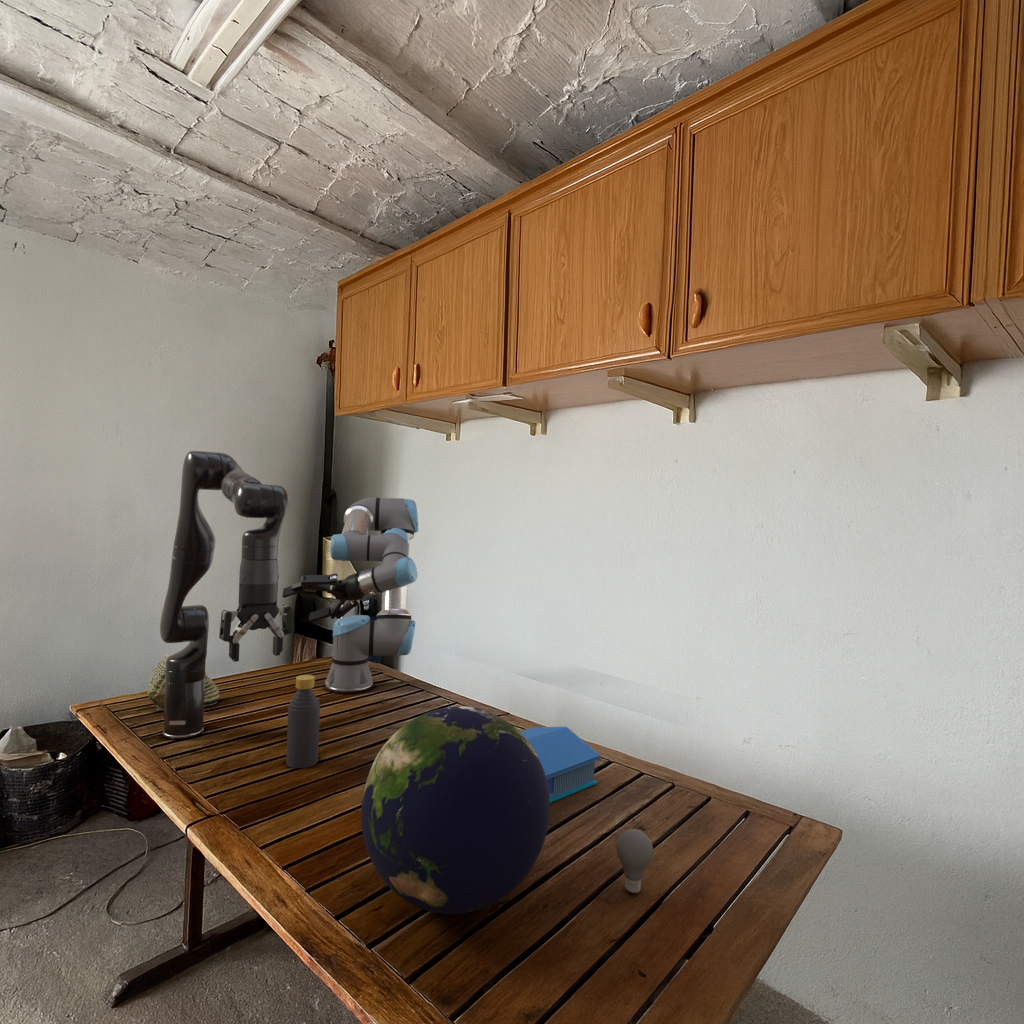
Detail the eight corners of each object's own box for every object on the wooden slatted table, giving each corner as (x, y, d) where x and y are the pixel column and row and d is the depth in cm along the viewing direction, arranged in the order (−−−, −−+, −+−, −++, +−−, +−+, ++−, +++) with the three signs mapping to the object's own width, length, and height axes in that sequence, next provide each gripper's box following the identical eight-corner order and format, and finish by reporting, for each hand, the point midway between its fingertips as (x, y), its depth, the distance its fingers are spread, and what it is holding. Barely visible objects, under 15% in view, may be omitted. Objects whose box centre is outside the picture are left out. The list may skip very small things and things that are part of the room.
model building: (474, 846, 117) (476, 792, 117) (402, 796, 135) (404, 749, 135) (608, 788, 143) (610, 744, 143) (533, 753, 161) (535, 714, 161)
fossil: (144, 707, 182) (145, 655, 182) (212, 696, 194) (213, 647, 194) (151, 716, 175) (153, 662, 175) (221, 703, 188) (223, 653, 188)
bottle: (282, 768, 147) (285, 683, 146) (290, 755, 154) (293, 674, 153) (314, 768, 147) (317, 683, 147) (320, 755, 155) (323, 674, 154)
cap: (293, 689, 148) (293, 679, 148) (297, 684, 152) (298, 674, 152) (312, 689, 148) (312, 680, 148) (316, 684, 153) (316, 674, 153)
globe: (316, 925, 94) (323, 724, 93) (419, 831, 121) (425, 675, 121) (501, 992, 83) (511, 764, 82) (568, 871, 110) (576, 700, 110)
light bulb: (610, 879, 108) (613, 822, 108) (644, 879, 109) (647, 822, 109) (619, 902, 102) (622, 840, 102) (655, 901, 103) (658, 840, 103)
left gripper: (284, 576, 139) (281, 649, 139) (216, 579, 129) (213, 658, 130) (299, 580, 134) (296, 656, 134) (230, 584, 124) (227, 667, 124)
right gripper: (340, 570, 168) (269, 593, 171) (383, 617, 186) (319, 637, 189) (342, 549, 173) (273, 571, 177) (384, 596, 191) (321, 616, 194)
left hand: (256, 657), depth 132 cm, fingers open, 8 cm apart
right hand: (297, 605), depth 183 cm, fingers open, 13 cm apart
